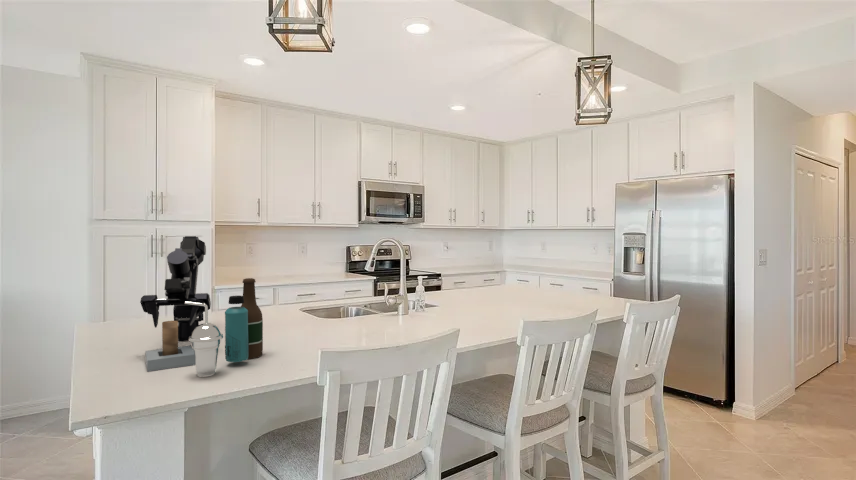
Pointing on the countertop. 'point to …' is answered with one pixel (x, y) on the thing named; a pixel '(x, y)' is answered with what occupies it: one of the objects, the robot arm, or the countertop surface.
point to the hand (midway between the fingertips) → (172, 325)
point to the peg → (169, 338)
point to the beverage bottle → (236, 331)
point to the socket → (169, 359)
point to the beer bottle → (253, 319)
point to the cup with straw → (205, 345)
